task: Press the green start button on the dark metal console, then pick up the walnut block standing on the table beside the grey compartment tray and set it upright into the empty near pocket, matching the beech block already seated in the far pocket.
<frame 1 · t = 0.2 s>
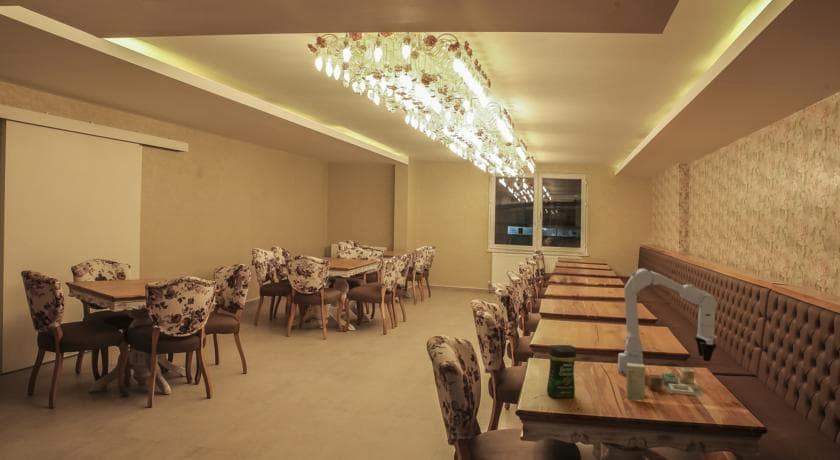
hand: (704, 358, 217), 10 cm above the table, tool pointing down, fingers open, 7 cm apart
walnut block: (654, 392, 205), on the table
grey compartment tray: (681, 391, 207), on the table
coffee jar: (560, 395, 200), on the table
console: (669, 383, 212), resting on grey compartment tray
start button: (670, 376, 212), point 4 cm above the table, slide at 0.0 cm
skincare box: (634, 398, 199), on the table
beech block: (686, 385, 210), point 1 cm above the table, touching grey compartment tray
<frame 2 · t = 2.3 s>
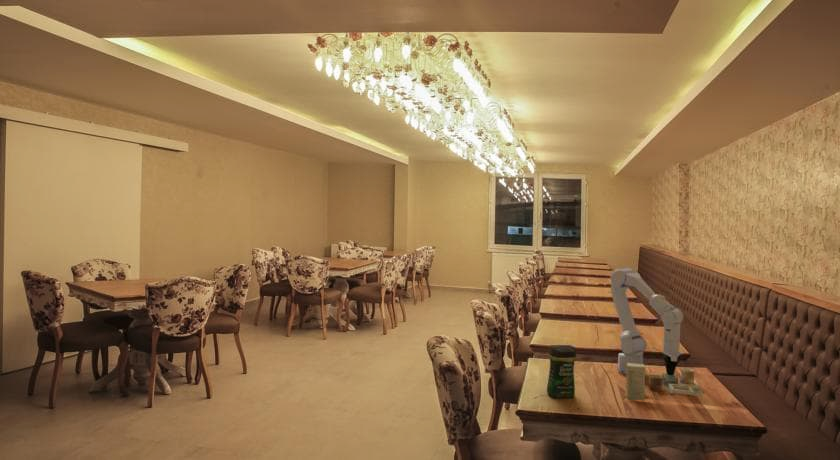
hand: (670, 374, 212), 5 cm above the table, tool pointing down, fingers closed, pressing on start button
start button: (669, 378, 212), point 3 cm above the table, slide at 0.6 cm, touching gripper
everything else where it was.
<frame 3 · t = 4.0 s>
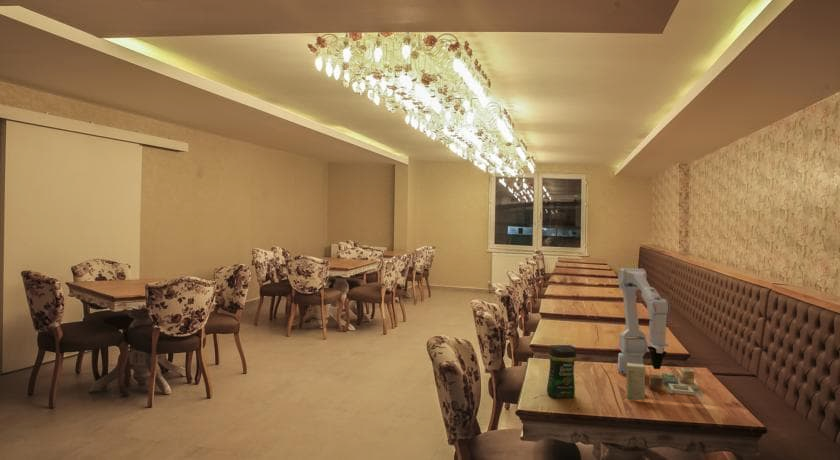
hand: (655, 367, 205), 9 cm above the table, tool pointing down, fingers open, 3 cm apart
start button: (669, 378, 212), point 3 cm above the table, slide at 0.6 cm
everything else where it was.
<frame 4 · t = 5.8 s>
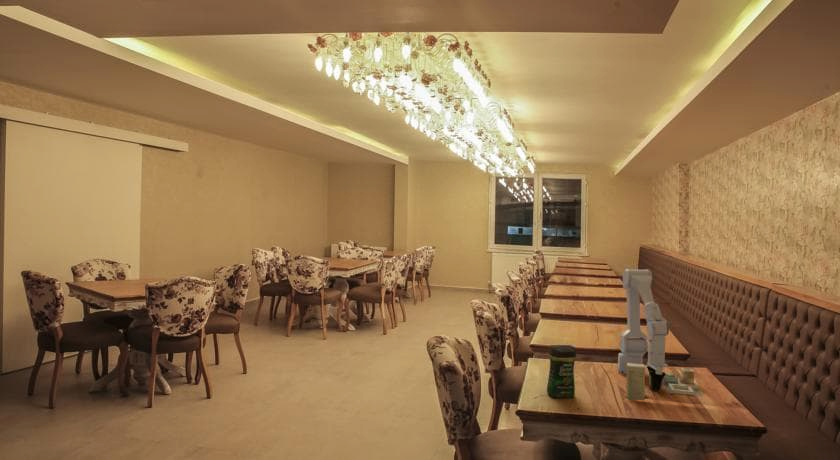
hand: (655, 387, 205), 2 cm above the table, tool pointing down, fingers closed on walnut block, 4 cm apart
walnut block: (654, 392, 205), on the table, touching gripper
everything else where it was.
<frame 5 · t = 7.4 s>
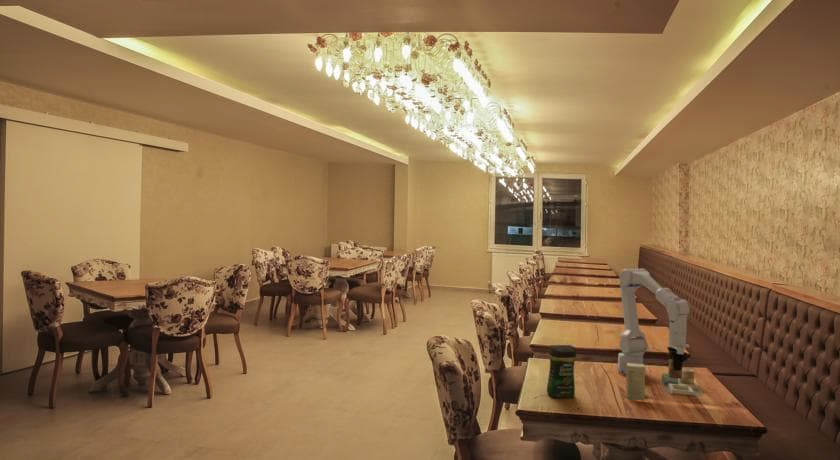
hand: (676, 368, 204), 9 cm above the table, tool pointing down, fingers closed on walnut block, 4 cm apart
walnut block: (675, 376, 204), point 6 cm above the table, touching gripper
everything else where it was.
when the fingers open (4 cm above the table, at t = 9.0 s): walnut block stays where it is, resting on grey compartment tray.
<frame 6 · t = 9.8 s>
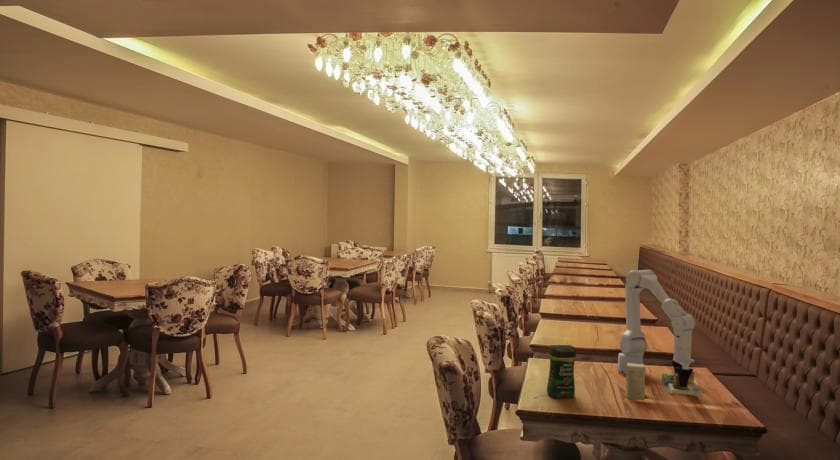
hand: (681, 383, 204), 4 cm above the table, tool pointing down, fingers open, 7 cm apart
walnut block: (680, 390, 204), point 1 cm above the table, touching grey compartment tray
everything else where it was.
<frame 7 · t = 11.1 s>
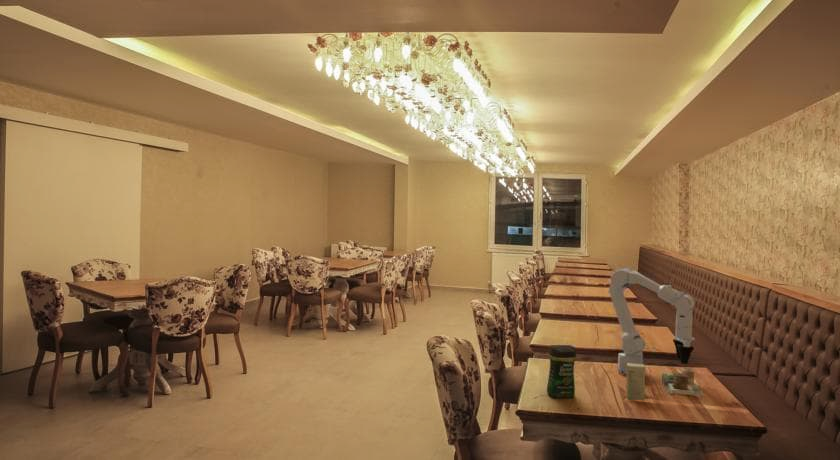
hand: (682, 360, 213), 10 cm above the table, tool pointing down, fingers open, 7 cm apart
nothing on the table moved.
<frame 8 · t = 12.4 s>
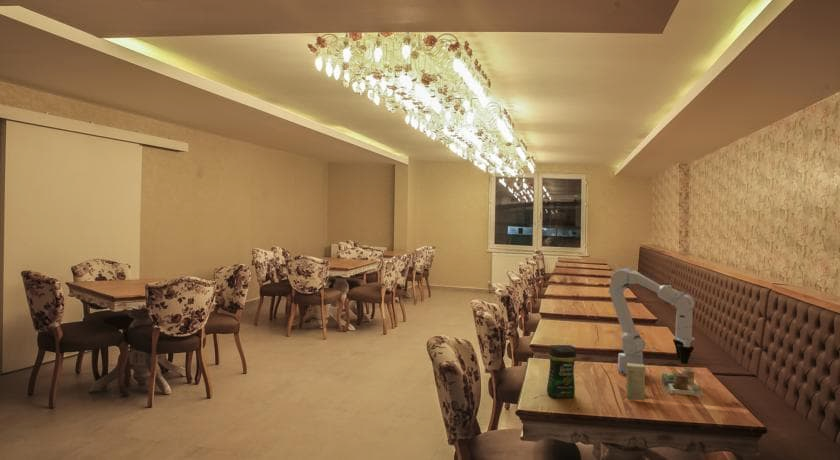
hand: (682, 360, 213), 10 cm above the table, tool pointing down, fingers open, 7 cm apart
nothing on the table moved.
at the end: walnut block 0.2 cm from the target spot, point 1.2 cm above the table; walnut block tilted 0°; start button slide at 0.6 cm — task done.
